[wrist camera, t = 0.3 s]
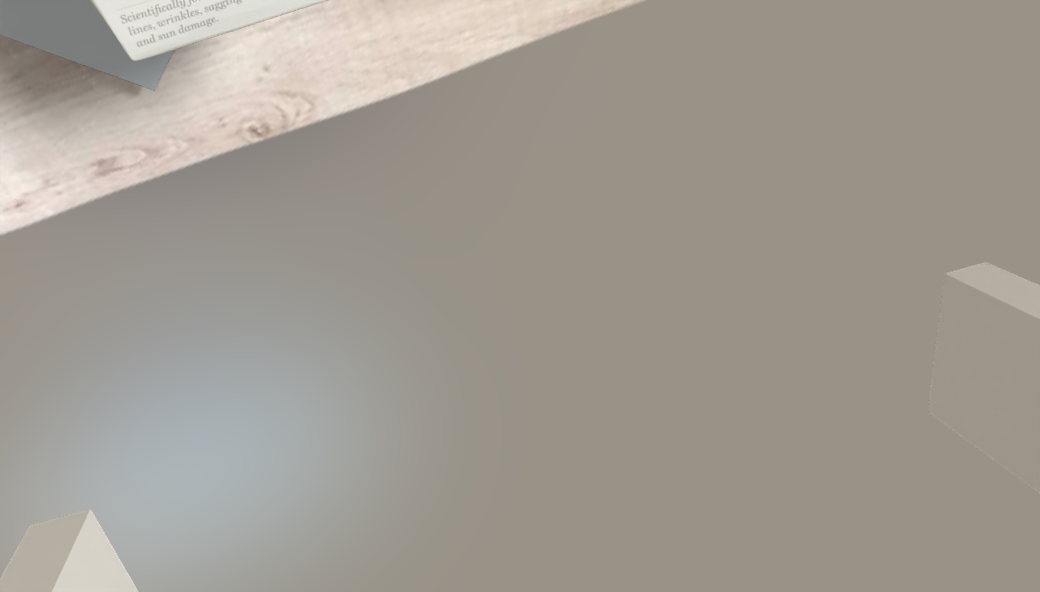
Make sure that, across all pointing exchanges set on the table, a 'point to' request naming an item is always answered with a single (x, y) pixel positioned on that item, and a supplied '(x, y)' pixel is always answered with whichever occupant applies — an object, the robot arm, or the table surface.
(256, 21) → the skincare box
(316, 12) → the table surface
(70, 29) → the flat blue-grey brick
